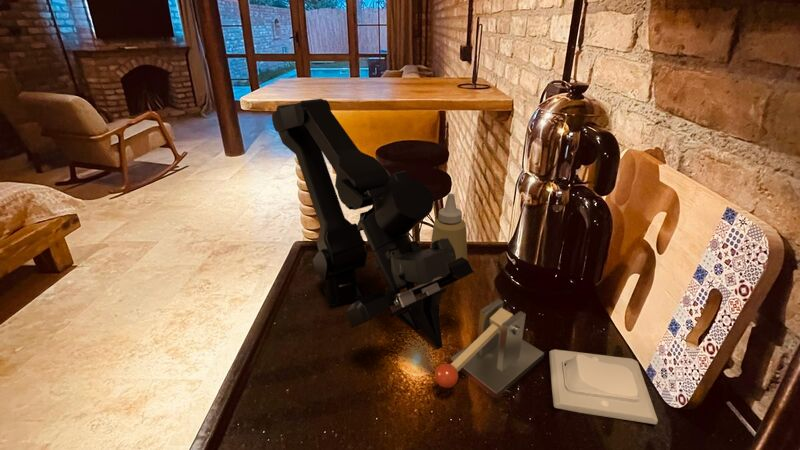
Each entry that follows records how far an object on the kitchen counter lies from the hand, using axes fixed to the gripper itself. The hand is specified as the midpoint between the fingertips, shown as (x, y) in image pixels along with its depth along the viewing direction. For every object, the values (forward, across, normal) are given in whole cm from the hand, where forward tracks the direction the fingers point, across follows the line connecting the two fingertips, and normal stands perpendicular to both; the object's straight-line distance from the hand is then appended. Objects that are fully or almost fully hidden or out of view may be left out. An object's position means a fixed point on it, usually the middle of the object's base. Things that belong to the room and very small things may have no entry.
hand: (438, 348), depth 55 cm
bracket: (+7, +12, +5) cm, 14 cm away
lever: (+3, +6, +2) cm, 7 cm away
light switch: (+15, +20, -3) cm, 25 cm away
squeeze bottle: (-10, +22, +23) cm, 33 cm away
